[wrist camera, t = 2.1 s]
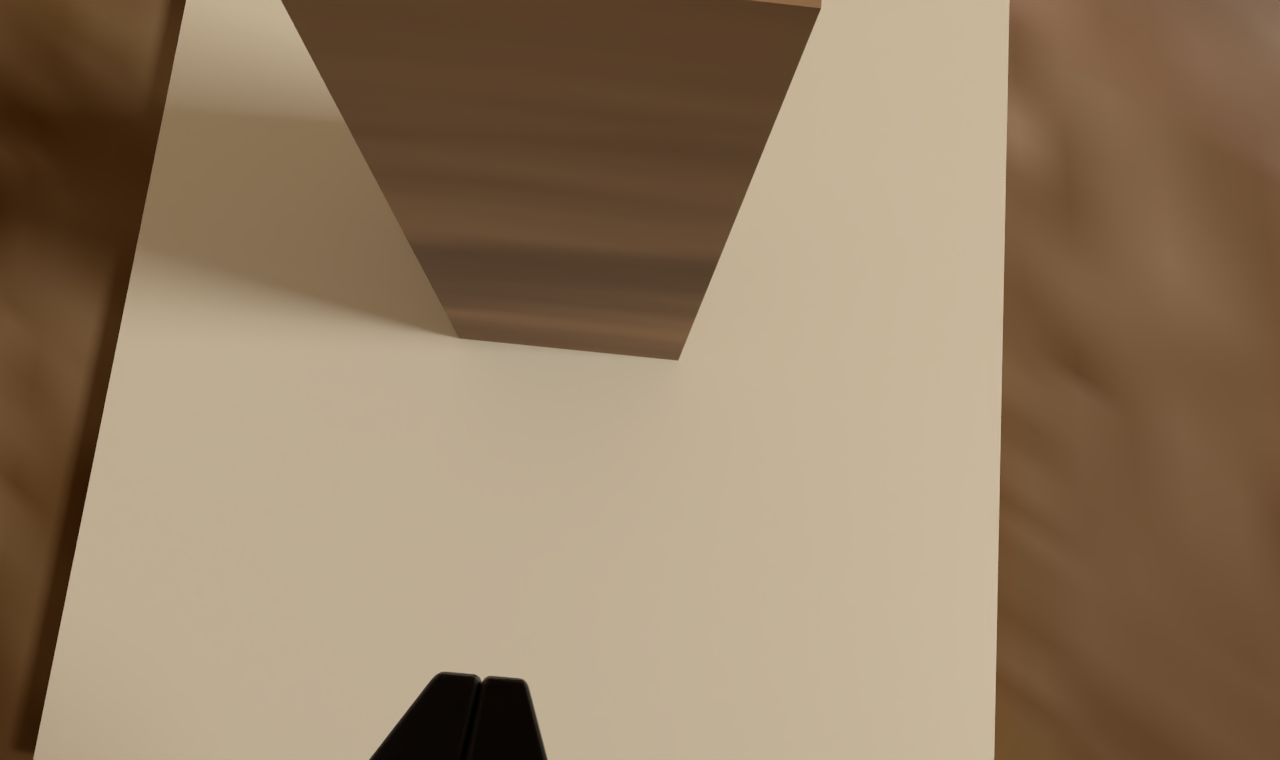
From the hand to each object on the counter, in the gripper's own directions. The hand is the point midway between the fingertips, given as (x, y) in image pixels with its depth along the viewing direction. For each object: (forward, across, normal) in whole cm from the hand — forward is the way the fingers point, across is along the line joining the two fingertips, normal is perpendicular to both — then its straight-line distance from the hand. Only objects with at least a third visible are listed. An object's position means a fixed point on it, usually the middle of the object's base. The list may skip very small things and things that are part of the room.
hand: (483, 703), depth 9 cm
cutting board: (+13, 0, +2) cm, 14 cm away
